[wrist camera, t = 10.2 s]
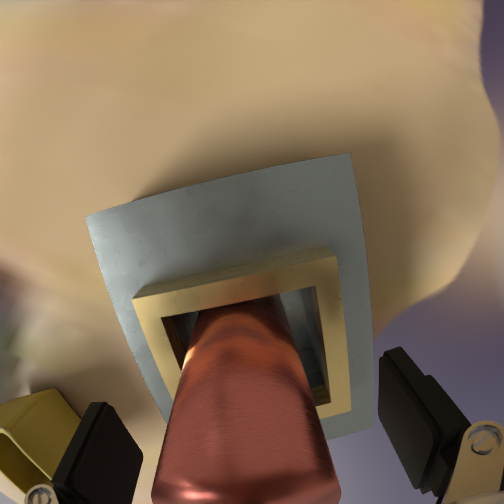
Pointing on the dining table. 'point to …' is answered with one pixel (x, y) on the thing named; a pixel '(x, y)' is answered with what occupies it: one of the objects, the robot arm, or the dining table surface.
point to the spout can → (244, 416)
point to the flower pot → (35, 437)
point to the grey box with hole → (249, 275)
